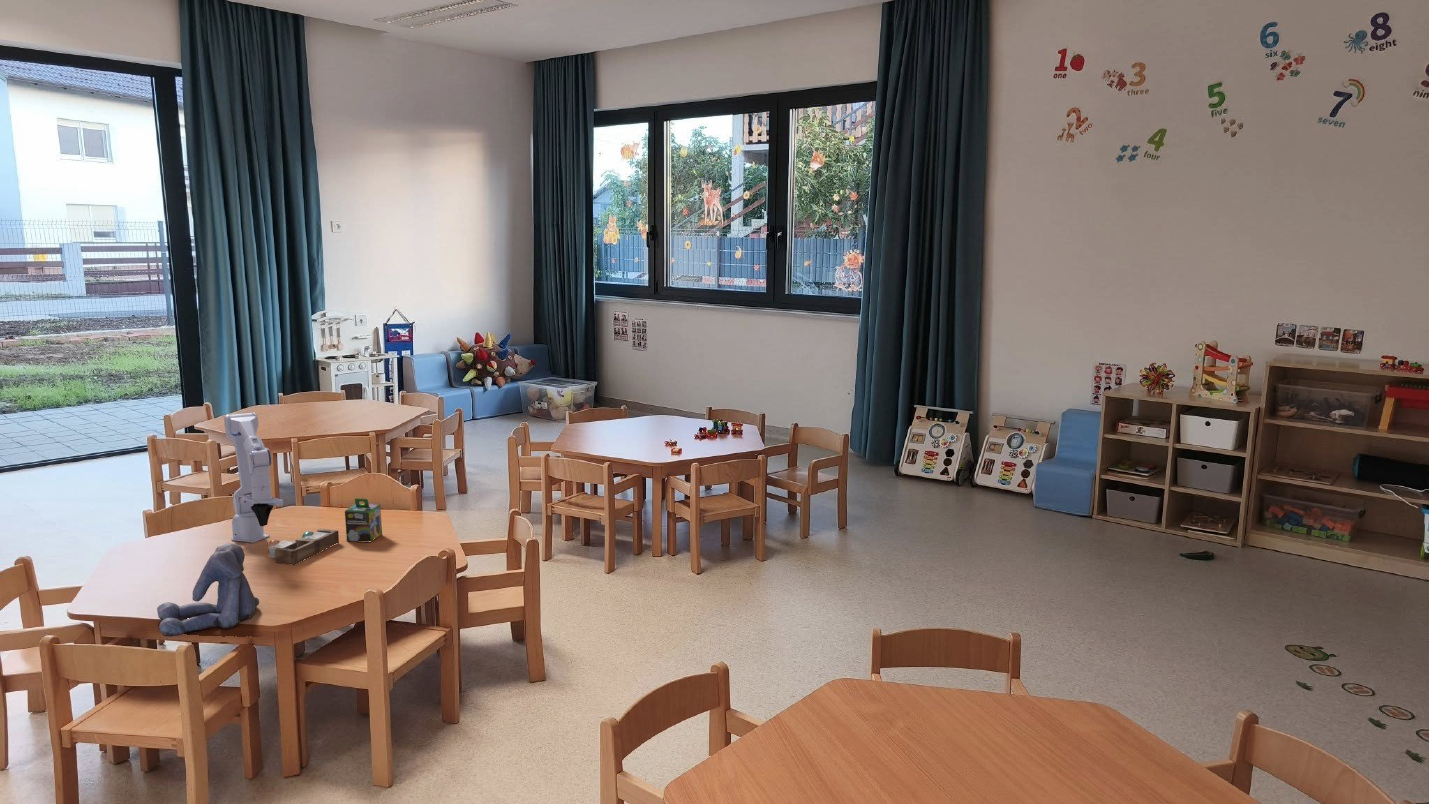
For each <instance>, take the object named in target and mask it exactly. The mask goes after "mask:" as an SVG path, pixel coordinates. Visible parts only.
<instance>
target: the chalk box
mask: <svg viewBox="0 0 1429 804" xmlns="http://www.w3.org/2000/svg"><path fill="white" fill-rule="evenodd" d="M360 502H362V503H360ZM354 503H355V504H353V505H351V506H350V507H349V508H347V509H345V510H344V519H345V532H346V533H345V535H346V537H345V538H346V541H347V540H348V541H347V542H354V541H372V540H373V539H374V538H376V539H378V538H379V537H380V535H381V534H382V535H383V526H382V511H381V510H382V509H381V504H380V503H369V500H368V499H367V498H357V497H356V498H354ZM382 535H381V536H382ZM378 536H379V537H378ZM377 537H378V538H377ZM373 541H374V540H373ZM373 541H372V542H373Z"/></svg>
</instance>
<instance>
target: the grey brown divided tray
mask: <svg viewBox="0 0 1429 804" xmlns="http://www.w3.org/2000/svg"><path fill="white" fill-rule="evenodd" d="M316 532H324V533H329V534H326V535H324V536H322V537H320V538H318V539H311V538H302V536H301V537H299V538H296V539H295V541H294V542H297V548H296V549H285V548H276V549H275V558H274V560H275V563H276V564H281V565H283V564H284V565H290V564H292V566H296V565H298V564H300V563H301V561H302V562H304V561H305V560H304V559H306V560H308V559H310V558H312V557H314V556H316V555H318V554H320V553H322V552H321V551H322V550H325V549H326V548H329V547H330V546H332V545H334V544H336V543H340V540H339V539H340V538H339V535H340V534H339V530H335V529H326V528H319V529H317V530H316ZM329 549H330V548H329ZM325 551H326V550H325ZM319 552H320V553H319ZM317 553H318V554H317ZM313 555H314V556H313ZM311 556H312V557H311ZM309 557H310V558H309ZM307 558H308V559H307ZM303 560H304V561H303ZM299 562H300V563H299ZM295 564H296V565H295Z"/></svg>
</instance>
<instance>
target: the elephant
mask: <svg viewBox="0 0 1429 804" xmlns="http://www.w3.org/2000/svg"><path fill="white" fill-rule="evenodd" d="M245 558H246V557H245V552H244V549H243V548H242V546H241V545H239V544H237V543H236V544H235V543H226V544H223V545H221V546H217V547H216V548H215V550H214V552H213V553H212V554H211V555H210V557H209V558H208V560H207V561H206V563H205V565H204V566H203V569H202V570H201V573H200V575H199V577H198V579H197V581H196V583H195V585H194V587H193V589H192V601H194V603H188V604H184V605H179V604H176V603H173V602H164V603H161V604H159V605H158V606H157V608H156V611H157V616H158V618H159V619H160V623H159V625H158V626H159V627H158V628H159V631H160V633H161V635H162V636H163V637H177V636H182V635H184V634H187V633H193V632H197V631H201V630H205V629H210V628H216V627H217V628H221V629H232V628H235V627H236V626H237V625H239V622H241V621H244V620H248V619H249V618H251V617H252V616H253V615H254V614H255V612H256V611H255V610H256V608H257V607H258V606H259V605H260V600H259V598H258V597H255V595H254V593H253V591H252V589H251V585H250V584H249V583H250V582H249V581H248V579H247V577H246V575H245V573H244V572H243V571H244V570H245V567H244V562H245ZM215 582H218V585H217V601H216V602H217V603H216V604H213V603H210V602H199V601H201V600H202V599H203V598H204V597H205V595H206V594H207V592H208V590H209V588H210V587H211V585H213V583H215ZM187 618H189V619H187ZM181 619H185V620H181Z"/></svg>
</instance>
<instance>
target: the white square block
mask: <svg viewBox="0 0 1429 804" xmlns="http://www.w3.org/2000/svg"><path fill="white" fill-rule="evenodd" d="M276 548H285V549H296V548H297V542H295V541H292V540H281V541H280V540H275V539H272V540H270V541H269V542H268V544H267V547H266V549H267V552H268V554H269V558H270V559H275V549H276Z"/></svg>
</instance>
